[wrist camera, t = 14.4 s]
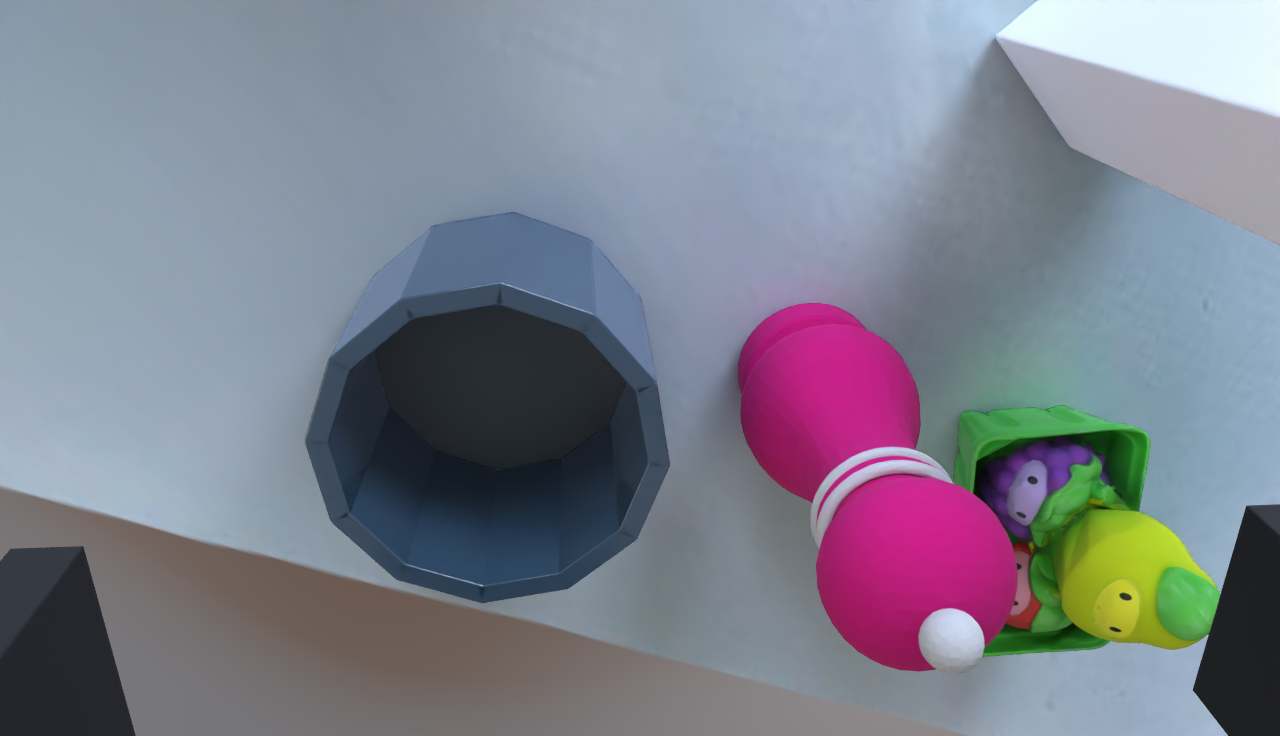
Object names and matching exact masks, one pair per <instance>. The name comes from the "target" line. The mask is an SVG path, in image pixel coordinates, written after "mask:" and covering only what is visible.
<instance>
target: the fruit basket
mask: <svg viewBox="0 0 1280 736" xmlns="http://www.w3.org/2000/svg"><path fill="white" fill-rule="evenodd" d="M958 444H959V449H960V451H959V453H958V456H957V458H956V460H955V467H954V477H953V483H954V484H956V485H959V486H961V487H963V488H965V489H966V490H968V491H970V492H971V493H973V494H974V495H975V496H977V497H978V498H979V499H980V500H982V501H983V502H984V503H985V504H987V506H988V507H989V508H990V509H991V510H992V511H993V512H994V513H995V514H996V516H997V517H998V519H999V521H1000V522H1001V524H1002V526H1003V527H1004V529H1005V531H1006V532H1007V534H1008V537H1009V539H1010V541H1011V544H1012V547H1013V551H1014V555H1015V559H1016V564H1017V574H1018V578H1017V591H1016V596H1015V601H1014V605H1013V607H1012V610H1011V612H1010V615H1009V617H1008V619H1007V621H1006V623H1005V624H1004V626H1003V628H1002V630H1001V631H1000V632H999V633H998V635H997V636H996V637H995V638H994V639H993V641H992V642H991V643H990V644H988V645H987V646H986V647H985V648H984V651H983V655H982V657H985V656H1000V655H1012V654H1025V653H1042V652H1061V651H1078V650H1091V649H1097V648H1100V647H1102V646H1104V645H1106V644H1107V643H1109V642H1110V641H1114V642H1123V643H1146V644H1149V645H1152V646H1156V647H1160V648H1164V649H1172V650H1175V649H1181V648H1185V647H1188V646H1190V645H1192V644H1194V643H1196V642H1198V641H1199V640H1201V639H1202V638H1204V637H1205V636H1206V635H1207V634H1208V635H1209V633H1210V629H1211V626H1212V622H1213V619H1214V615H1215V612H1216V609H1217V605H1218V602H1219V598H1220V593H1219V591H1218V590H1217V587H1216V585H1215V584H1214V582H1213V581H1212V579H1211V578H1210V577H1209V576H1208V575H1207V574H1206V573H1205V572H1204V571H1203V570H1202V569H1201V568H1200V567H1199V566H1198V565H1197V564H1196V563H1195V562H1194V560H1193V559H1192V557H1191V556H1190V554H1189V552H1188V550H1187V549H1186V547H1185V546H1184V544H1183V543H1182V541H1181V540H1180V539H1179V538H1178V537H1177V536H1176V535H1175V534H1174V532H1173V531H1171V530H1170V529H1169V528H1168V527H1167V526H1165V525H1164V524H1162V523H1161V522H1159V521H1157V520H1156V519H1154V518H1152V517H1150V516H1148V515H1146V514H1143V513H1140V512H1139V507H1140V502H1141V496H1142V490H1143V486H1144V480H1145V474H1146V470H1147V463H1148V458H1149V451H1150V438H1149V436H1148V434H1147V433H1146V432H1145V431H1143V430H1141V429H1139V428H1136V427H1133V426H1129V425H1126V424H1122V423H1111V422H1109V421H1106V420H1103V419H1101V418H1098V417H1095V416H1092V415H1089V414H1086V413H1084V412H1081V411H1078V410H1075V409H1072V408H1069V407H1067V406H1055V407H1053V408H1050V409H1047V410H1046V411H1045V410H1043V409H1038V408H1035V407H1032V408H1015V409H998V410H993V411H990V412H987V413H985V414H983V413H979V412H975V411H966V412H963V413H962V414H961V415H960V420H959V429H958Z"/></svg>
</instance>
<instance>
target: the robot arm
mask: <svg viewBox="0 0 1280 736" xmlns="http://www.w3.org/2000/svg"><path fill="white" fill-rule="evenodd" d="M1193 691H1194V692H1195V693H1196V695H1197V696H1198V697H1199V699H1200V700H1201V701H1202V702H1203V704H1204V705H1205V706H1206V708H1207V709H1208V710H1209V711H1210V713H1211V714H1212V715H1213V717H1214V718H1215V719H1216V720H1217V722H1218V723H1219V724H1220V726H1221V727H1222V728H1223V729H1224V731H1225V732H1226V733H1227V735H1228V736H1280V505H1253V506H1246V509H1245V513H1244V516H1243V519H1242V523H1241V526H1240V530H1239V533H1238V537H1237V540H1236V543H1235V547H1234V550H1233V554H1232V557H1231V561H1230V564H1229V567H1228V571H1227V574H1226V578H1225V581H1224V585H1223V588H1222V591H1221V595H1220V598H1219V602H1218V605H1217V609H1216V612H1215V615H1214V619H1213V622H1212V626H1211V629H1210V633H1209V636H1208V640H1207V643H1206V646H1205V650H1204V653H1203V657H1202V660H1201V664H1200V667H1199V670H1198V674H1197V677H1196V681H1195V684H1194V688H1193ZM0 736H135V732H134V728H133V725H132V721H131V718H130V714H129V711H128V707H127V703H126V700H125V696H124V692H123V689H122V685H121V681H120V678H119V674H118V671H117V667H116V664H115V660H114V656H113V652H112V649H111V645H110V642H109V638H108V634H107V631H106V627H105V623H104V620H103V617H102V613H101V609H100V605H99V602H98V598H97V594H96V591H95V587H94V584H93V580H92V576H91V573H90V569H89V565H88V562H87V558H86V555H85V551H84V548H83V546H80V547H51V548H24V549H10V551H9V552H8V553H7V554H6V555H5V556H4V557H3V559H2V560H1V561H0Z"/></svg>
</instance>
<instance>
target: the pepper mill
mask: <svg viewBox="0 0 1280 736" xmlns="http://www.w3.org/2000/svg"><path fill="white" fill-rule="evenodd" d="M738 381H739V387H740V390H741V393H742V397H741V412H740V415H741V424H742V429H743V433H744V436H745V438H746V441H747V443H748V445H749V447H750V449H751V451H752V453H753V455H754V456H755V458H756V460H757V461H758V463H759V465H760V466H761V467H762V468H763V469H764V470H765V471H766V472H767V474H768V475H769V476H770V477H771V478H773V479H774V480H775V481H776V482H777V483H778V484H779V485H781V486H782V487H783V488H785V489H786V490H788V491H789V492H791V493H793V494H795V495H797V496H799V497H802V498H804V499H806V500H808V501H810V502H811V503H812V507H811V514H810V525H811V531H812V535H813V538H814V540H815V542H816V545H817V547H818V551H819V552H818V557H817V563H816V572H817V585H818V590H819V594H820V597H821V601H822V603H823V606H824V608H825V610H826V612H827V614H828V616H829V618H830V620H831V622H832V624H833V625H834V626H835V628H836V629H837V630H838V632H839V633H840V634H841V635H842V637H843V638H844V639H845V640H846V641H847V642H848V643H849V644H850V645H851V646H853V647H854V648H855V649H856V650H857V651H858V652H860V653H861V654H863V655H865V656H866V657H868V658H870V659H871V660H873V661H875V662H877V663H879V664H882V665H884V666H888V667H892V668H895V669H899V670H907V671H927V670H935V669H937V670H939V671H941V672H945V673H950V674H958V673H963V672H966V671H968V670H970V669H972V668H973V667H974V666H975V665H976V664H977V663H978V662H979V661H980V659H981V657H982V655H983V651H984V648H985V647H986V646H987V645H988V644H990V643H991V642H992V641H993V639H994V638H995V637H996V636H997V635H998V633H999V632H1000V631H1001V630H1002V628H1003V626H1004V624H1005V623H1006V621H1007V619H1008V617H1009V615H1010V612H1011V610H1012V607H1013V605H1014V601H1015V596H1016V591H1017V578H1018V574H1017V564H1016V559H1015V555H1014V551H1013V547H1012V544H1011V541H1010V539H1009V537H1008V534H1007V532H1006V531H1005V529H1004V527H1003V526H1002V524H1001V522H1000V521H999V519H998V517H997V516H996V514H995V513H994V512H993V511H992V510H991V509H990V508H989V507H988V506H987V504H985V503H984V502H983V501H982V500H980V499H979V498H978V497H977V496H975V495H974V494H973V493H971V492H970V491H968V490H966V489H965V488H963V487H961V486H959V485H956V484H954V483H953V482H952V480H951V478H950V477H949V475H948V473H947V472H946V471H945V469H944V468H943V467H942V466H941V465H940V464H939V463H938V462H936V461H935V460H934V459H933V458H931V457H929V456H928V455H926V454H924V453H921V452H919V451H916V450H915V449H916V445H917V441H918V437H919V432H920V425H921V422H920V403H919V394H918V390H917V387H916V383H915V381H914V379H913V377H912V375H911V373H910V371H909V369H908V368H907V366H906V364H905V362H904V360H903V358H902V357H901V356H900V355H899V353H898V352H897V351H896V350H895V349H894V348H893V347H892V346H891V345H890V344H889V343H888V342H886V341H885V340H883V339H882V338H880V337H879V336H877V335H876V334H874V333H872V332H870V331H867V330H866V328H865V327H864V326H863V325H862V324H861V323H860V321H859V320H857V319H856V318H855V317H854V316H853V315H851V314H849V313H848V312H846V311H845V310H842V309H840V308H838V307H835V306H831V305H828V304H821V303H806V304H799V305H795V306H791V307H788V308H785V309H783V310H780V311H778V312H777V313H775V314H773V315H771V316H770V317H768V318H767V319H765V320H764V321H763V322H762V323H761V324H760V325H759V326H758V327H757V328H756V329H755V330H754V331H753V332H752V334H751V335H750V336H749V338H748V339H747V341H746V343H745V345H744V347H743V349H742V352H741V355H740V359H739V363H738Z"/></svg>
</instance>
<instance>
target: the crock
mask: <svg viewBox="0 0 1280 736" xmlns="http://www.w3.org/2000/svg"><path fill="white" fill-rule="evenodd" d="M494 305H502V306H505V307H508V308H511V309H514V310H517V311H520V312H523V313H526V314H529V315H532V316H535V317H538V318H541V319H544V320H547V321H550V322H553V323H556V324H559V325H562V326H565V327H568V328H571V329H574V330H577V331H580V332H582V333H583V334H584V336H585V337H586V338H587V339H588V340H589V341H590V342H591V343H592V344H593V345H594V347H595V348H596V349H597V350H598V351H599V352H600V353H601V354H602V355H603V356H604V358H605V359H606V360H607V361H608V362H609V363H610V364H611V365H612V366H613V367H614V369H615V370H616V371H617V372H618V373H619V374H620V375H621V376H622V377H623V379H624V380H625V381H626V382H627V384H626V386H625V388H624V391H623V393H622V395H621V398H620V400H619V403H618V405H617V407H616V410H615V412H614V415H613V417H612V419H611V422H610V423H609V424H607V425H606V426H605V427H603V428H602V429H601V430H599V431H598V432H597V433H595V434H594V435H593V436H591V437H590V438H589V439H587V440H586V441H585V442H583V443H582V444H581V445H579V446H578V447H577V448H576V449H574V450H573V451H572V452H570V453H569V454H568V455H566V456H565V457H564V458H562V459H560V460H554V461H548V462H542V463H536V464H530V465H524V466H518V467H512V468H506V469H500V470H496V469H493V468H489V467H486V466H483V465H479V464H476V463H473V462H469V461H466V460H463V459H460V458H456V457H453V456H450V455H446V454H443V453H440V452H436V451H434V450H433V449H432V448H431V447H430V446H429V445H428V444H427V443H426V442H425V441H424V440H423V439H422V438H421V437H420V436H419V435H418V434H417V433H416V432H415V431H414V430H413V429H411V428H410V427H409V426H408V425H407V424H406V423H405V422H404V421H403V420H402V419H401V418H400V417H399V416H398V415H397V414H396V413H395V412H394V411H393V410H392V409H391V408H390V407H389V404H388V401H387V397H386V394H385V390H384V387H383V383H382V380H381V376H380V373H379V369H378V365H377V362H376V358H375V355H374V351H375V350H376V349H377V348H378V347H380V346H381V345H382V344H383V343H384V342H386V341H387V340H388V339H389V338H391V337H392V336H393V335H394V334H395V333H397V332H398V331H399V330H400V329H402V328H403V327H404V326H405V325H406V324H408V323H409V322H410V321H411V320H412V319H416V318H422V317H428V316H434V315H440V314H446V313H452V312H458V311H464V310H470V309H476V308H482V307H488V306H494ZM305 444H306V447H307V450H308V453H309V456H310V459H311V463H312V466H313V469H314V472H315V475H316V478H317V481H318V484H319V487H320V490H321V493H322V496H323V499H324V502H325V506H326V509H327V512H328V515H329V518H330V520H331V521H332V523H333V524H334V525H335V526H336V527H337V528H339V529H340V530H341V531H342V532H343V533H344V534H345V535H346V536H348V537H349V538H350V539H351V540H352V541H353V542H354V543H356V544H357V545H358V546H359V547H360V548H361V549H362V550H363V551H365V552H366V553H367V554H368V555H369V556H370V557H371V558H372V559H374V560H375V561H376V562H377V563H378V564H379V565H380V566H382V567H383V568H384V569H385V570H386V571H387V572H388V573H389V574H391V575H392V576H393V577H394V578H396V579H397V580H399V581H403V582H407V583H410V584H414V585H418V586H421V587H425V588H429V589H432V590H436V591H440V592H443V593H447V594H451V595H454V596H458V597H462V598H465V599H469V600H472V601H476V602H480V603H486V602H492V601H498V600H504V599H510V598H516V597H522V596H528V595H534V594H540V593H546V592H552V591H558V590H564V589H568V588H570V587H571V586H573V585H574V584H575V583H577V582H578V581H580V580H581V579H582V578H584V577H585V576H587V575H588V574H589V573H591V572H592V571H594V570H595V569H596V568H598V567H599V566H601V565H602V564H603V563H605V562H606V561H608V560H609V559H610V558H612V557H613V556H615V555H616V554H617V553H619V552H620V551H621V550H623V549H624V548H626V547H627V546H628V545H630V544H631V543H633V542H634V541H635V540H636V539H637V538H638V536H639V533H640V531H641V529H642V527H643V524H644V522H645V520H646V518H647V516H648V513H649V511H650V509H651V507H652V504H653V502H654V500H655V498H656V496H657V493H658V491H659V489H660V487H661V484H662V482H663V480H664V478H665V476H666V473H667V471H668V469H669V467H670V461H669V455H668V449H667V443H666V437H665V430H664V424H663V418H662V412H661V406H660V399H659V393H658V387H657V381H656V376H655V371H654V365H653V360H652V355H651V349H650V344H649V339H648V333H647V328H646V323H645V317H644V312H643V307H642V301H641V298H640V296H639V295H638V294H637V292H636V291H635V290H634V289H633V288H632V287H631V285H630V284H629V283H628V282H627V281H626V280H625V278H624V277H623V276H622V275H621V274H620V273H619V272H618V270H617V269H616V268H615V267H614V266H613V265H612V263H611V262H610V261H609V260H608V259H607V258H606V256H605V255H604V254H603V253H602V252H601V251H600V250H599V248H598V247H597V246H596V245H595V244H594V243H593V241H592V240H590V239H589V238H586V237H583V236H580V235H577V234H575V233H572V232H569V231H566V230H563V229H561V228H558V227H555V226H552V225H549V224H547V223H544V222H541V221H538V220H535V219H532V218H530V217H527V216H524V215H521V214H518V213H516V212H510V213H504V214H498V215H492V216H486V217H480V218H474V219H468V220H462V221H456V222H450V223H444V224H438V225H434V226H432V227H430V228H429V229H428V230H427V231H426V232H425V233H423V234H422V235H421V236H420V237H419V238H417V239H416V240H415V241H414V242H413V243H411V244H410V245H409V246H408V247H407V248H406V249H404V250H403V251H402V252H401V253H400V254H398V255H397V256H396V257H395V258H394V259H392V260H391V261H390V262H389V263H388V264H387V265H385V266H384V267H383V268H382V269H381V270H379V271H378V272H377V273H376V274H375V275H374V276H373V278H372V280H371V282H370V284H369V286H368V287H367V289H366V291H365V293H364V295H363V297H362V298H361V300H360V302H359V304H358V306H357V308H356V309H355V311H354V313H353V315H352V317H351V319H350V320H349V322H348V324H347V326H346V328H345V330H344V332H343V333H342V335H341V337H340V339H339V341H338V343H337V344H336V346H335V348H334V350H333V352H332V354H331V355H330V357H329V359H328V362H327V366H326V369H325V372H324V376H323V379H322V383H321V386H320V389H319V393H318V396H317V400H316V403H315V406H314V410H313V413H312V416H311V420H310V423H309V427H308V430H307V433H306V437H305Z"/></svg>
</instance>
